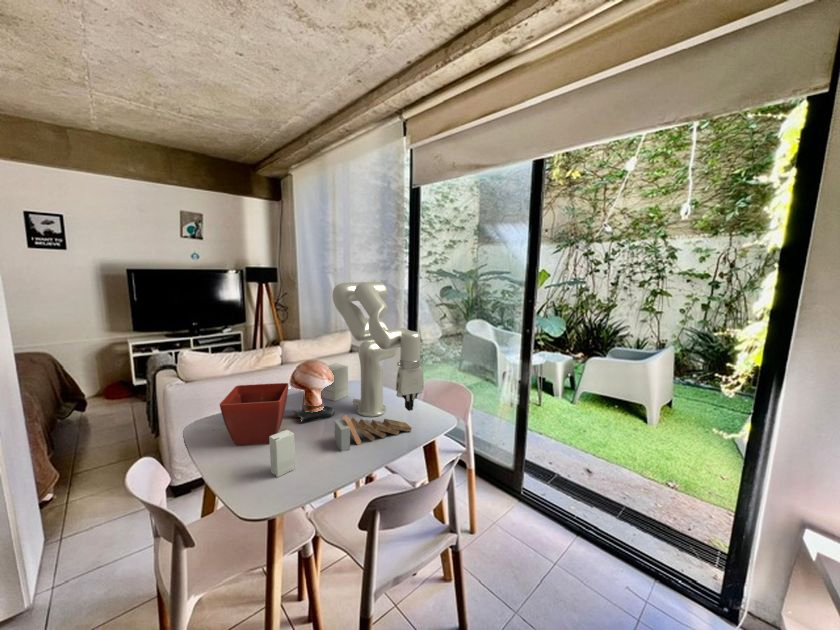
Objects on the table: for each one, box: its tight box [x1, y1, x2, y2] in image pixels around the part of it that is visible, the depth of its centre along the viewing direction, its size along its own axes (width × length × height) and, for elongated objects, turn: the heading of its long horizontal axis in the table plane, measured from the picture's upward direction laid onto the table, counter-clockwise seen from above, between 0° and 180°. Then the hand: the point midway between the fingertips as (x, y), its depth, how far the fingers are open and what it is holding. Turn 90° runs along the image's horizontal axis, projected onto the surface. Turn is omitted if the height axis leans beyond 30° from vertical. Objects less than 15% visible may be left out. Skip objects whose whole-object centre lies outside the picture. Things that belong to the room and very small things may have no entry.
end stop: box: [333, 418, 351, 453], centre depth 122 cm, size 3×8×8 cm, turn 30°
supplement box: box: [321, 362, 349, 402], centre depth 165 cm, size 9×9×15 cm
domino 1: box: [350, 417, 376, 442], centre depth 125 cm, size 2×5×10 cm
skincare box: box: [269, 429, 296, 478], centre depth 106 cm, size 6×4×12 cm
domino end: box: [342, 414, 362, 445], centre depth 123 cm, size 2×5×10 cm, turn 30°
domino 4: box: [382, 418, 412, 432], centre depth 133 cm, size 2×5×10 cm
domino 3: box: [370, 419, 400, 436], centre depth 130 cm, size 2×5×10 cm
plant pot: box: [219, 382, 289, 447], centre depth 126 cm, size 19×19×17 cm
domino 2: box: [358, 418, 387, 439], centre depth 127 cm, size 2×5×10 cm
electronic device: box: [294, 405, 335, 424], centre depth 144 cm, size 9×6×15 cm
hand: (409, 409), depth 134 cm, fingers closed
